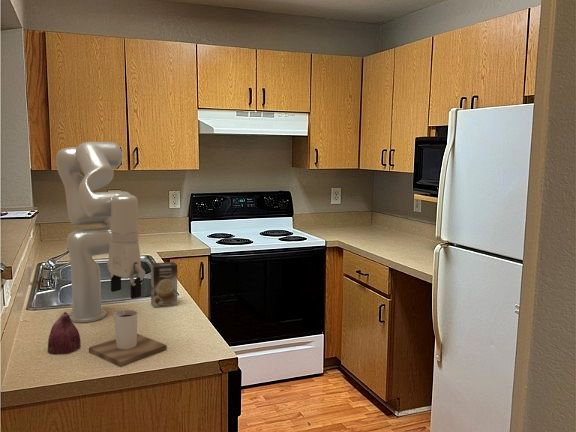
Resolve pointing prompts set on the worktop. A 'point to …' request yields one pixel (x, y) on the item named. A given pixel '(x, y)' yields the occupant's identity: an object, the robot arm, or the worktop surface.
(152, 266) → the coffee box
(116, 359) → the walnut board
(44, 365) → the worktop surface
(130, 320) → the white coffee cup
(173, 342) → the worktop surface
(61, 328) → the vegetable
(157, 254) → the worktop surface
